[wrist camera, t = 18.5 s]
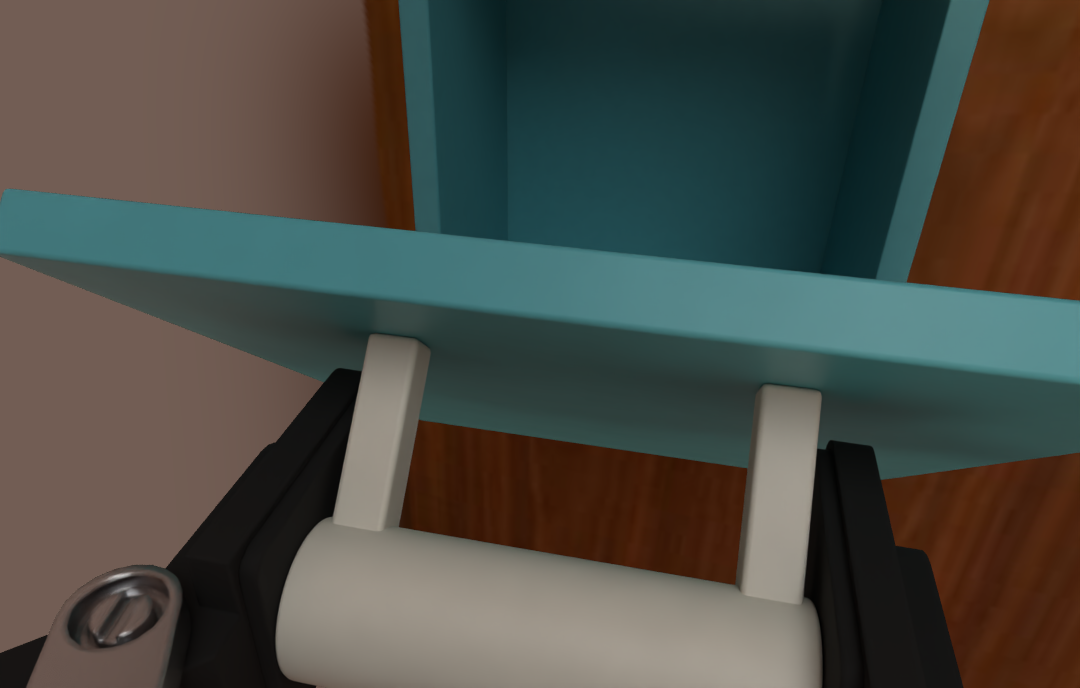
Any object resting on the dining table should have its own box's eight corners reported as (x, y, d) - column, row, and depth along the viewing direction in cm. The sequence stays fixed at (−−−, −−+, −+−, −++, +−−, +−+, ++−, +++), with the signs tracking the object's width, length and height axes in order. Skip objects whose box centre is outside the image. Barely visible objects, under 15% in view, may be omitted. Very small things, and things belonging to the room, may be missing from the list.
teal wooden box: (487, -190, 25) (381, -207, 18) (949, -186, 22) (1050, -203, 15) (495, 280, 34) (427, 400, 26) (827, 318, 31) (854, 461, 24)
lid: (1, 186, 9) (-138, 652, 8) (1349, 326, 7) (1371, 996, 6) (425, 395, 26) (395, 557, 25) (856, 457, 24) (842, 637, 23)
